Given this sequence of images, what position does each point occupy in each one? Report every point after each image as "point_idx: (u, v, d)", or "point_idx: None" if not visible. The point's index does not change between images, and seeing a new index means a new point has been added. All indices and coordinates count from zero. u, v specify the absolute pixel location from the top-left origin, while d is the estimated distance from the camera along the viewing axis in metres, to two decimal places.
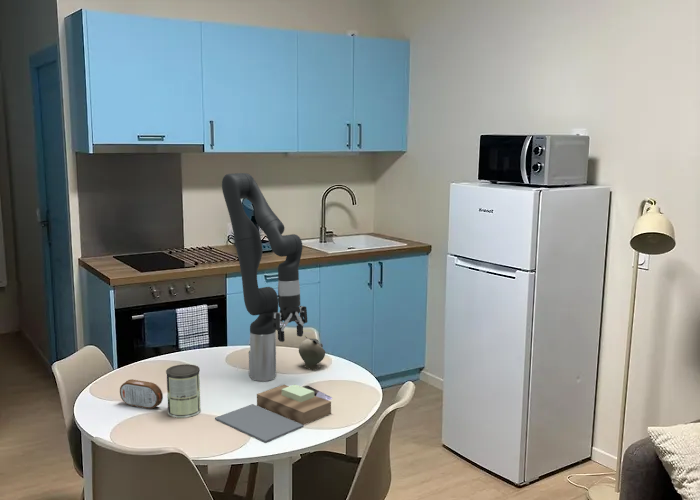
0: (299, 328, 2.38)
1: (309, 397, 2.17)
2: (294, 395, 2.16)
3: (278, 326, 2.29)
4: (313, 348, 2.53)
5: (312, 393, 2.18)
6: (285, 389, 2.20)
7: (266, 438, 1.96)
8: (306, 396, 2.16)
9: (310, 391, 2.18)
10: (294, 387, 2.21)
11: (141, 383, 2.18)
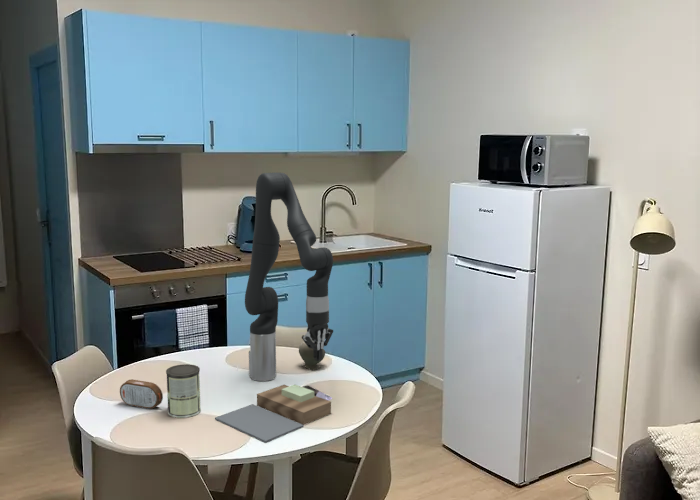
0: None
1: (309, 397, 2.17)
2: (294, 395, 2.16)
3: (313, 346, 2.20)
4: None
5: (312, 393, 2.18)
6: (285, 389, 2.20)
7: (266, 438, 1.96)
8: (306, 396, 2.16)
9: (310, 391, 2.18)
10: (294, 387, 2.21)
11: (141, 383, 2.18)
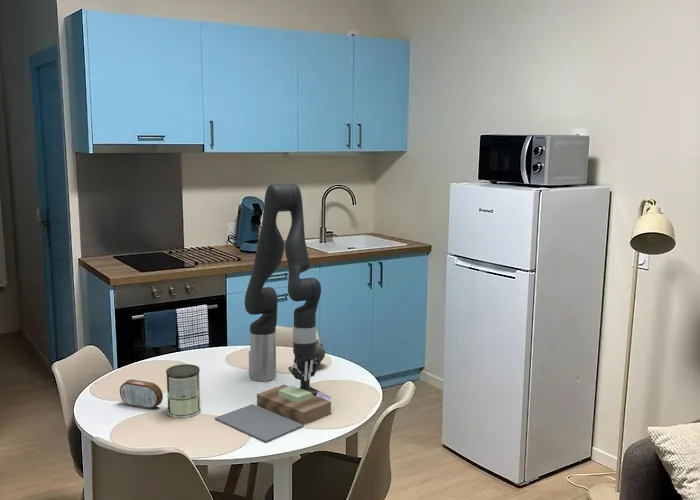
0: None
1: (306, 398, 2.16)
2: (291, 396, 2.15)
3: (300, 377, 2.17)
4: None
5: (309, 394, 2.17)
6: (282, 390, 2.19)
7: (266, 438, 1.96)
8: (303, 398, 2.15)
9: (307, 392, 2.17)
10: (291, 389, 2.20)
11: (141, 383, 2.18)
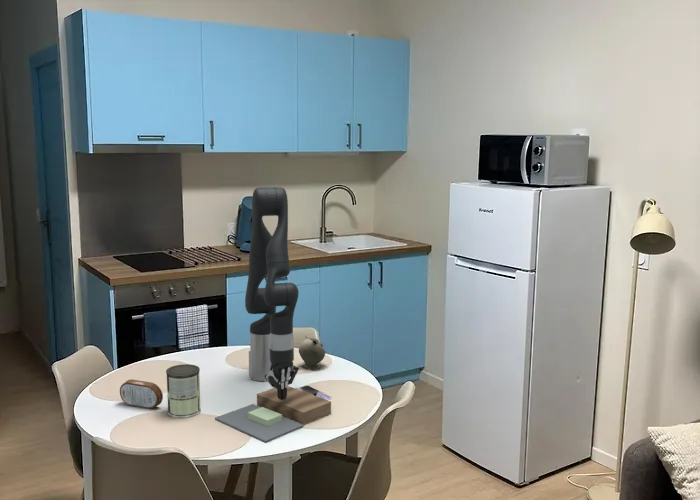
0: None
1: (272, 419, 2.06)
2: None
3: (277, 385, 2.10)
4: (313, 348, 2.53)
5: (269, 424, 2.05)
6: None
7: (266, 438, 1.96)
8: (276, 420, 2.07)
9: None
10: None
11: (141, 383, 2.18)
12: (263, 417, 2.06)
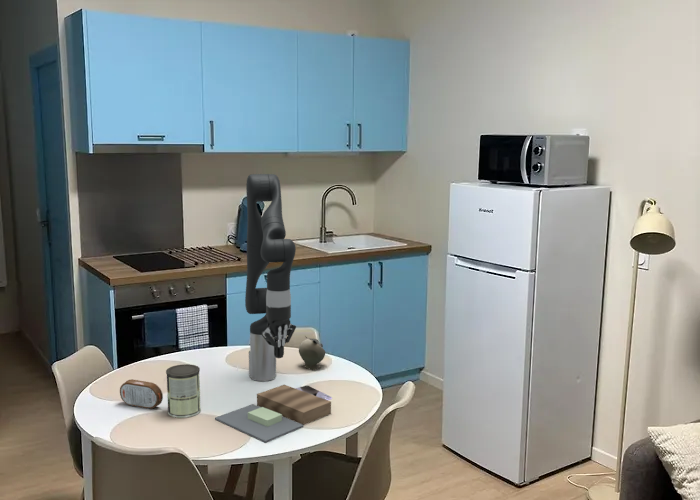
0: None
1: (272, 419, 2.06)
2: None
3: (273, 343, 2.07)
4: (313, 348, 2.53)
5: (269, 424, 2.05)
6: None
7: (266, 438, 1.96)
8: (276, 420, 2.07)
9: None
10: None
11: (141, 383, 2.18)
12: (263, 417, 2.06)
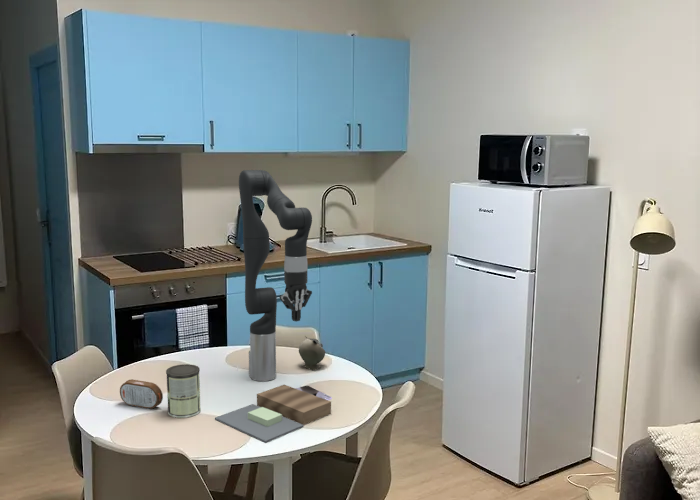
0: None
1: (272, 419, 2.06)
2: None
3: (291, 306, 2.19)
4: (313, 348, 2.53)
5: (269, 424, 2.05)
6: None
7: (266, 438, 1.96)
8: (276, 420, 2.07)
9: None
10: None
11: (141, 383, 2.18)
12: (263, 417, 2.06)
